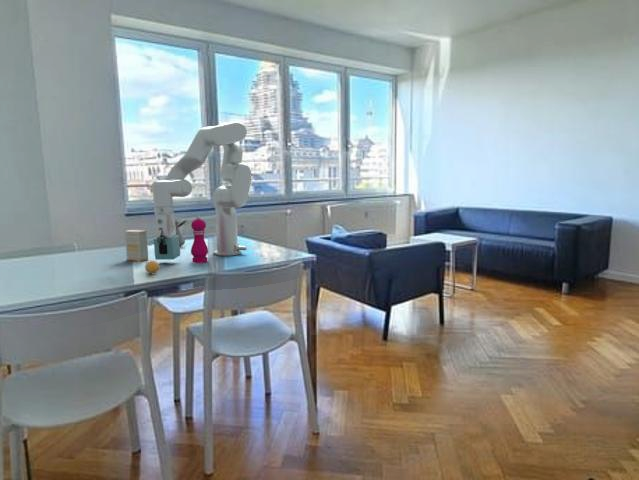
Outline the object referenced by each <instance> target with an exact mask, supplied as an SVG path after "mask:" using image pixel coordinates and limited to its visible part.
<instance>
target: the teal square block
mask: <svg viewBox="0 0 639 480" xmlns="http://www.w3.org/2000/svg"><path fill="white" fill-rule="evenodd" d="M163 241H164V239H163ZM166 244H167V254H159V245H158V241H157V236H156V237H154V238H153V248H154V259H155V260H154V261H157V260H158V261H159V260H161V261H162V260H167V261H168V260H175V259H177V258H178V257H180V256H181V247H180V246H179V235H175V236H173V237H171V238H166Z"/></svg>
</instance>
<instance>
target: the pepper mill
mask: <svg viewBox="0 0 639 480" xmlns="http://www.w3.org/2000/svg"><path fill="white" fill-rule="evenodd" d="M191 228H192V234H193V244H192V246H191V249H190V254H191V256H192V263H194V264H204V263H207V262H208V257H207V256H208V254H209V248H208V246H207V244H206V241H205V234H206V230H205V229H206V228H207V224H206V221H205V220H204V219H201V216H200V215H197V216H195V219H194V220H193V221H192V222H191Z"/></svg>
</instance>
